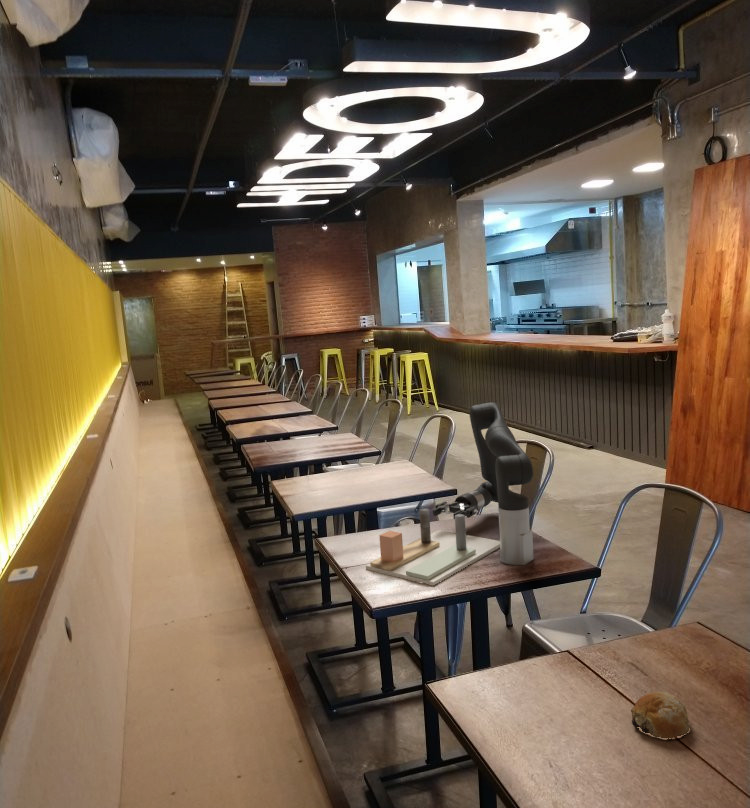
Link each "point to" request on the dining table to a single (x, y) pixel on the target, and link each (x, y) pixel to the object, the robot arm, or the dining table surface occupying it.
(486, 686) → the dining table surface
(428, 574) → the sage strip
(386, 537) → the terracotta block
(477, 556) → the lane board
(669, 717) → the bread roll
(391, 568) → the oak strip
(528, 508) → the robot arm
